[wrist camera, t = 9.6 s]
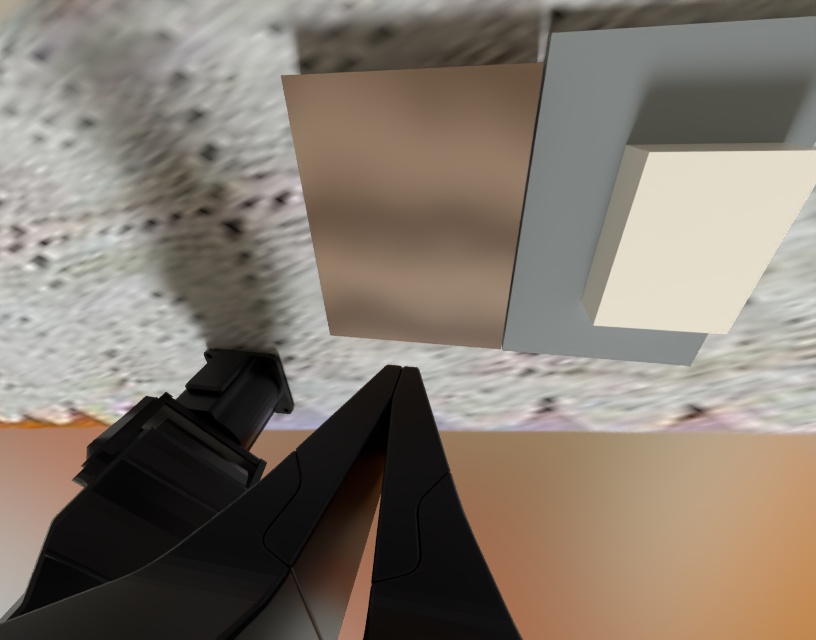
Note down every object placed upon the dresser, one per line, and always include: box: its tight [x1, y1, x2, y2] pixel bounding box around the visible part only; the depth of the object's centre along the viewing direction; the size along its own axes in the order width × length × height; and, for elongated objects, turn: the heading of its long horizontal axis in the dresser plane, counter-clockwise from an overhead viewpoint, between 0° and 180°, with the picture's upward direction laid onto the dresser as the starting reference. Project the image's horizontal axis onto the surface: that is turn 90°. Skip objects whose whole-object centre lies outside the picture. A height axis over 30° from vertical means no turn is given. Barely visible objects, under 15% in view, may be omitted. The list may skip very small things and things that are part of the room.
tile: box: [581, 143, 816, 334], centre depth 16 cm, size 8×6×2 cm
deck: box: [281, 62, 544, 349], centre depth 19 cm, size 14×11×2 cm
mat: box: [502, 16, 816, 366], centre depth 17 cm, size 16×11×1 cm
